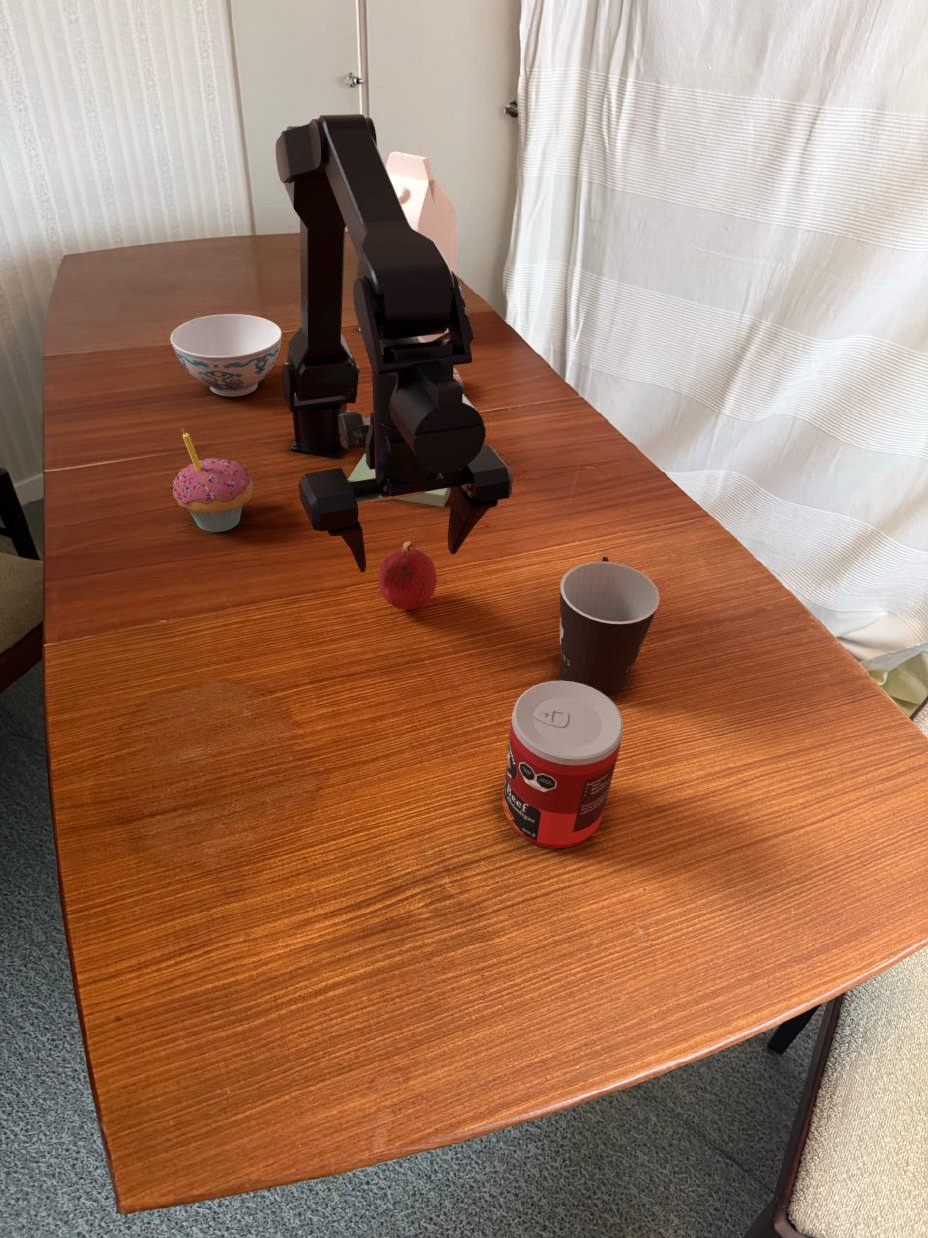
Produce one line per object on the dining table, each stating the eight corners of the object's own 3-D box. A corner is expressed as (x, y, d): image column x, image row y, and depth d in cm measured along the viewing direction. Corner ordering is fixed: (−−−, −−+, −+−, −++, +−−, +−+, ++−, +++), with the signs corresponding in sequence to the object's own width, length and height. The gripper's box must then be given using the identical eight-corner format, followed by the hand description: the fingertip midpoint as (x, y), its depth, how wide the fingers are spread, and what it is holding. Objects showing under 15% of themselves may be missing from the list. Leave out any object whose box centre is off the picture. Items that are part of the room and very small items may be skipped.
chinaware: (158, 396, 117) (147, 343, 112) (220, 357, 128) (212, 306, 123) (249, 419, 113) (242, 365, 108) (305, 376, 124) (301, 325, 119)
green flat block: (347, 491, 101) (346, 466, 98) (383, 436, 111) (382, 412, 109) (449, 508, 99) (450, 483, 96) (475, 451, 109) (477, 426, 107)
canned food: (496, 774, 69) (506, 680, 62) (590, 770, 70) (611, 677, 62) (507, 854, 63) (520, 761, 56) (610, 849, 64) (635, 757, 57)
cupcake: (190, 549, 90) (169, 451, 83) (172, 509, 96) (151, 414, 88) (266, 530, 94) (253, 434, 86) (245, 493, 99) (231, 400, 91)
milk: (457, 326, 141) (464, 155, 124) (418, 348, 133) (420, 169, 116) (399, 310, 145) (398, 142, 128) (359, 330, 138) (352, 154, 121)
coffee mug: (616, 720, 74) (636, 637, 67) (531, 682, 77) (542, 599, 71) (664, 647, 82) (686, 566, 75) (585, 615, 85) (600, 534, 78)
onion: (428, 630, 82) (429, 566, 77) (372, 621, 83) (369, 556, 78) (441, 594, 86) (443, 531, 81) (387, 586, 87) (386, 522, 82)
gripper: (473, 362, 79) (466, 501, 89) (277, 386, 73) (293, 532, 83) (521, 414, 71) (507, 560, 81) (307, 446, 66) (320, 599, 76)
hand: (407, 560), depth 81 cm, fingers open, 9 cm apart
